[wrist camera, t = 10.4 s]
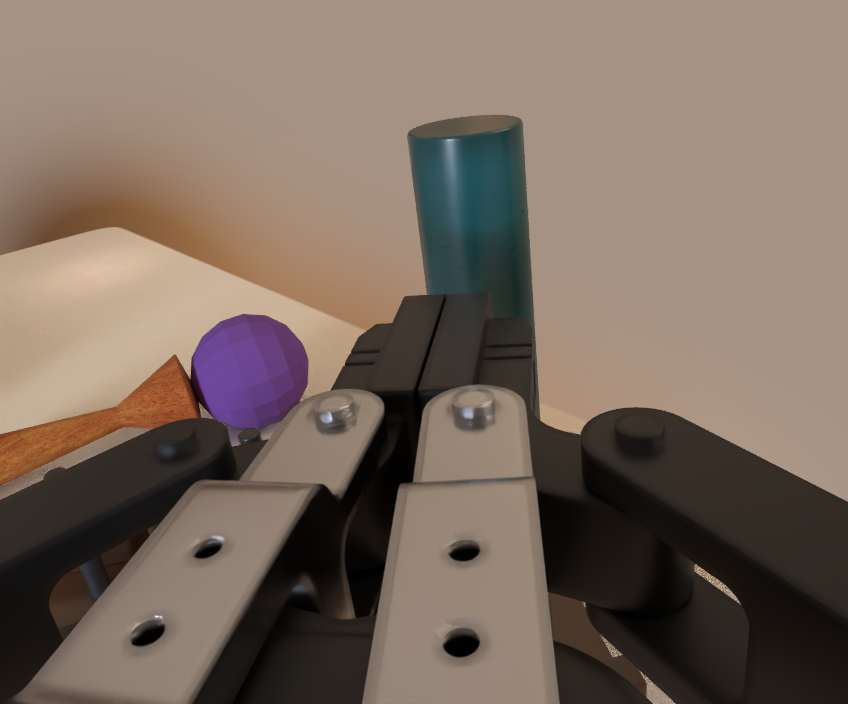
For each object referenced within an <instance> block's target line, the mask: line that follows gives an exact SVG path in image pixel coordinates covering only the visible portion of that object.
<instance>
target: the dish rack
mask: <svg viewBox="0 0 848 704" xmlns="http://www.w3.org/2000/svg"><path fill="white" fill-rule="evenodd" d="M407 138H408V146H409V154H410V161H411V169H412V178H413V185H414V194H415V202H416V210H417V218H418V225H419V234H420V241H421V250H422V258H423V265H424V274H425V282H426V290H427V295H435V294H446V295H447V296H448V294H451V293H469V292H487V291H490V293H491V298H492V306H493V318H507V317H521V318H522V319H523V320H524V321H525V322H526V323H527V324H528V325H529V326H530V327H531V328H532V329H533V346H534V363H535V380H536V397H537V418H538V419H539V420H540V408H539V394H538V393H539V391H538V375H537V358H536V341H535V324H534V307H533V290H532V274H531V257H530V239H529V223H528V206H527V191H526V173H525V155H524V139H523V122H522V120H521V119H520V118H517V117H513V116H507V115H481V116H469V117H460V118H453V119H447V120H442V121H436V122H432V123H428V124H424V125H421V126H418V127H416V128H414V129H412V130H410V131H409V132H408V136H407ZM238 439H239V443H240V445H244V444H248V443H253V442H258V441H262V439H261V435H260V431H259V430H258V429H256V428H249V429H246V430H243V431H242V432H240V433H239V435H238ZM64 470H66V469H65V468H62V467H60V468H55V469H52V470H50V471H48V472H47V473H46V474H45V475H44V479H47V478H49V477H51V476H53V475H55V474H57V473H59V472H62V471H64ZM149 536H150V534H149V531H148V529H147V530H145V531H143V532H141V533H140V534H138V535H136V536H134V537H132V538H130V539H129V540H127V541H125V542H123V543H121V544H119V545H118V546H116V547H114V548H112V549H110V550H108V551H107V552H105V553H103V554H101V555H99V556H97V557H96V558H94V559H92V560H90V561H88V562H86V563H85V564H83V565H81V566H79V567H77V568H75V569H74V570H72V571H70V572H69V573H67V574H66V575H65V576H63V577H62V578H61V579H60V580H59V581H58V582H57V584H56V585H55V587H54V588H53V590H52V592H51V595H50V599H49V608H50V611H51V613H52V616H53V618H54V620H55V622H56V625H57V627H64V626H68V625H71V624H73V623H75V622H77V621H78V620H80V619H82V618H83V617H84V616H85V614H86V613H87V612H88V611H89V610H90V608H91V607H92V606H93V605H94V604H95V602H96V601H97V600H98V599H99V597H100V596H101V595H102V594H103V593H104V591H105V590H106V589H107V588H108V586H109V585H110V584H111V583H112V582H113V580H114V579H115V578H116V577H117V575H118V574H119V573H120V572H121V571H122V569H123V568H124V567H125V566H126V564H127V563H128V562H129V561H130V560H131V558H132V557H133V556H134V555H135V553H136V552H137V551H138V550H139V549H140V547H141V546H142V545H143V544H144V542H145V541H146V540H147V539H148V538H149ZM548 601H549V611H550V620H551V629H552V638H553V640H554V641H557V642H560V643H563V644H565V645H568V646H571V647H574V648H576V649H578V650H580V651H582V652H584V653H586V654H588V655H590V656H592V657H594V658H596V659H597V660H599V661H601V662H602V663H604V664H605V665H607V666H609V667H610V668H612V669H613V670H615V671H616V672H617V673H619V674H620V675H621V676H622V677H624V678H625V679H626V680H627V681H629V682H630V683H631V684H633V685H634V686H635V687H636V688H637V689H638V690H639V691H640V692H641V693H642V694H643V695H644V696H645V697H646V686H647V685H646V682H645V680H644V678H643V677H642V675H641V673H640V672H639V670H638V668H637V667H636V666H635V665H634V664H633V663H631V662H630V661H629V660H628V659H627V658H626V657H625V656H624V655H621V656H618V657H614V658H613V657H612V655H611V654H610V652H609V650H608V648H607V646H606V645H605V643H604V641H603V639H602V637H601V636H600V634H599V632H598V631H597V630H596V629H595V628H594V627H593V625H592V624H591V622H590V621H589V618H588V616H587V612H586V608H585V607H584V605H583V603H582V601H579V600H575V599H572V598H568V597H564V596H561V595H557V594H554V593H550V592H548Z"/></svg>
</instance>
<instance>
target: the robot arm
mask: <svg viewBox="0 0 848 704" xmlns="http://www.w3.org/2000/svg"><path fill="white" fill-rule="evenodd" d="M147 529H148V531H149V534H150V536H149V538H148V539H147V540H146V541H145V542H144V544H143V545H142V546H141V547H140V549H139V550H138V551H137V552H136V553H135V555H134V556H133V557H132V558H131V560H130V561H129V562H128V563H127V564H126V566H125V567H124V568H123V569H122V571H121V572H120V573H119V574H118V575H117V577H116V578H115V579H114V580H113V582H112V583H111V584H110V585H109V586H108V588H107V589H106V590H105V591H104V593H103V594H102V595H101V596H100V597H99V599H98V600H97V601H96V602H95V604H94V605H93V606H92V607H91V608H90V610H89V611H88V612H87V613H86V614H85V616H84V617H83V618H82V619H80V620H78V621H77V622H75V623H73V624H71V625H68V626H64V627H57V625H56V622H55V620H54V618H53V616H52V613H51V611H50V608H49V599H50V595H51V592H52V590H53V588H54V587H55V585H56V584H57V582H58V581H59V580H60V579H61V578H62V577H63V576H65V575H66V574H67V573H69V572H70V571H72V570H74V569H75V568H77V567H79V566H81V565H83V564H85V563H86V562H88V561H90V560H92V559H94V558H96V557H97V556H99V555H101V554H103V553H105V552H107V551H108V550H110V549H112V548H114V547H116V546H118V545H119V544H121V543H123V542H125V541H127V540H129V539H130V538H132V537H134V536H136V535H138V534H140V533H141V532H143V531H145V530H147ZM695 564H697V565H698V566H699V567H701V568H702V569H704V570H705V571H707V572H708V573H709V574H711V575H712V576H714V577H715V578H716V579H718V580H719V581H721V582H722V583H723V584H725V585H726V586H727V587H728V588H729V589H730V590H731V591H732V592H733V593H734V595H735V596H736V597H737V599H738V600H739V601H740V603H741V604H739V603H738V602H736V601H735V600H734V599H732V598H731V597H729V596H728V595H726V594H725V593H724V592H722V591H721V590H719V589H718V588H717V587H715V586H714V585H712V584H711V583H710V582H708V581H707V580H705V579H704V578H703V577H701V576H700V575H698V574H697V573H696V572H694V567H695ZM548 592H550V593H554V594H557V595H561V596H564V597H568V598H572V599H575V600H579V601H582V602H586V612H587V616H588V618H589V621H590V622H591V624H592V625H593V627H594V628H595V629H596V630H597V631H598V632H599V633H600V634H601V635H602V636H603V637H604V638H605V639H606V640H608V641H609V642H610V643H611V644H612V645H613V646H614V647H615V648H616V649H617V650H618V651H619V652H621V653H622V654H623V655H624V656H625V657H626V658H627V659H628V660H629V661H630V662H631V663H633V664H634V665H635V666H636V667H637V668H638V669H639V670H640V671H641V672H642V673H643V674H644V675H646V676H647V677H648V678H649V679H650V680H651V681H652V682H653V683H654V684H655V685H656V686H658V687H659V688H660V689H661V690H662V691H663V692H664V693H665V694H666V695H667V696H668V697H669V698H671V699H672V700H673V701H674V702H675V703H676V704H848V502H847V501H845V500H843V499H841V498H839V497H837V496H835V495H833V494H831V493H829V492H827V491H825V490H823V489H821V488H819V487H817V486H816V485H813V484H812V483H809V482H808V481H806V480H804V479H802V478H800V477H798V476H796V475H794V474H792V473H790V472H788V471H786V470H784V469H782V468H780V467H778V466H776V465H774V464H772V463H770V462H768V461H766V460H764V459H762V458H761V457H759V456H757V455H755V454H753V453H751V452H749V451H747V450H745V449H743V448H741V447H739V446H737V445H735V444H733V443H731V442H729V441H727V440H725V439H723V438H721V437H719V436H717V435H715V434H713V433H711V432H709V431H707V430H705V429H704V428H702V427H700V426H698V425H696V424H694V423H692V422H690V421H688V420H686V419H684V418H682V417H680V416H677V415H675V414H673V413H669V412H666V411H662V410H657V409H650V408H637V407H636V408H635V407H634V408H622V409H616V410H611V411H608V412H605V413H602V414H600V415H598V416H596V417H594V418H592V419H591V420H590V421H588V422H587V424H586V425H585V426H584V427H583V429H582V431H581V435H580V434H574V433H569V432H564V431H561V430H558V429H555V428H553V427H550V426H548V425H546V424H545V423H543V422H541V421H540V420H539V419H538V418H537V397H536V380H535V363H534V346H533V329H532V328H531V327H530V326H529V325H528V324H527V323H526V322H525V321H524V320H523V319H522V318H521V317H507V318H493V306H492V298H491V293H490V291H487V292H469V293H451V294H448V296H447V295H446V294H435V295H419V296H405V297H404V298H403V300H402V303H401V305H400V307H399V310H398V312H397V314H396V316H395V318H394V321H393V323H389V324H376V325H375V326H373V327H372V328H371V329H369V330H368V331H366V332H365V333H364V334H362V335H361V336H359V337H358V339H357V341H356V343H355V345H354V347H353V349H352V351H351V354H349V356H348V358H347V360H346V362H345V366H343V368H342V370H341V372H340V373H339V375H338V377H337V379H336V381H335V383H334V385H333V387H332V389H331V390H330V391H328V392H324V393H320V394H317V395H314V396H312V397H309V398H307V399H305V400H303V401H302V402H300V403H299V404H297V405H296V406H295V407H293V408H292V409H291V410H290V412H289V413H288V414H287V415H286V417H285V418H284V420H283V421H282V422H281V424H280V425H279V426H278V428H277V429H276V430H275V432H274V433H273V435H272V436H271V437H270V439H268V440H263V441H258V442H253V443H248V444H244V445H239V446H234V447H232V446H231V442H230V438H229V434H228V431H227V428H226V427H225V425H224V424H222V423H221V422H219V421H217V420H213V419H208V418H191V419H183V420H178V421H174V422H170V423H167V424H164V425H162V426H159V427H157V428H154V429H152V430H150V431H148V432H146V433H144V434H141V435H139V436H137V437H135V438H133V439H131V440H128V441H126V442H124V443H122V444H120V445H118V446H116V447H113V448H111V449H109V450H107V451H105V452H103V453H100V454H98V455H96V456H94V457H92V458H90V459H88V460H85V461H83V462H81V463H79V464H77V465H75V466H72V467H70V468H68V469H66V470H64V471H62V472H59V473H57V474H55V475H53V476H51V477H49V478H47V479H44V480H42V481H40V482H38V483H36V484H34V485H31V486H29V487H27V488H25V489H23V490H21V491H19V492H16V493H14V494H12V495H10V496H8V497H6V498H3V499H1V500H0V704H652V703H651V702H650V701H649V700H648V699H647V698H646V697H645V696H644V695H643V694H642V693H641V692H640V691H639V690H638V689H637V688H636V687H635V686H634V685H633V684H631V683H630V682H629V681H627V680H626V679H625V678H624V677H622V676H621V675H620V674H619V673H617V672H616V671H615V670H613V669H612V668H610V667H609V666H607V665H605V664H604V663H602V662H601V661H599V660H597V659H596V658H594V657H592V656H590V655H588V654H586V653H584V652H582V651H580V650H578V649H576V648H574V647H571V646H568V645H565V644H563V643H560V642H557V641H554V640H553V638H552V629H551V620H550V611H549V601H548Z"/></svg>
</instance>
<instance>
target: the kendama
mask: <svg viewBox="0 0 848 704" xmlns="http://www.w3.org/2000/svg"><path fill="white" fill-rule="evenodd" d="M307 384H308V358H307V354H306V351H305V349H304V346H303V344H302V343H301V341H300V340H299V339H298V338H297V337H296V336H295V334H294V333H293V332H292V331H291V330H290V329H289V328H288V327H287V325H285V324H283V323H280V322H278V321H276V320H274V319H272V318H270V317H268V316H265V315H249V314H242V315H239V316H236V317H233V318H230V319H227V320H224V321H221V322H219V323H218V324H217V325H216V326H215V327H213V328H212V329H211V330H210V331H209V332H207V333H206V334H205V335H204V336H203V337H202V339H201V340H200V342H199V344H198V346H197V348H196V350H195V352H194V354H193V356H192V362H191V379H190V378H189V377H188V375H187V373H186V372H185V370H184V368H183V367H182V365H181V363H180V362H179V360H178V358H177V357H176V355H173V356H172V357H171V358H170V359H169V360H168V361H167V362H166V363H165V364H163V365H162V366H161V367H160V368H159V369H158V370H157V371H156V372H154V373H153V374H152V375H151V376H150V377H149V378H148V379H147V380H146V381H144V382H143V383H142V384H141V385H140V386H139V387H138V388H137V389H136V390H134V391H133V392H132V393H131V394H130V395H129V396H128V397H127V398H126V399H124V400H123V401H122V402H121V403H120V404H119V405H118V406H117V407H113V408H109V409H105V410H101V411H96V412H92V413H88V414H84V415H79V416H75V417H71V418H67V419H63V420H58V421H54V422H50V423H46V424H42V425H37V426H33V427H29V428H25V429H21V430H16V431H12V432H8V433H4V434H0V485H2V484H4V483H6V482H8V481H11V480H13V479H15V478H17V477H19V476H21V475H23V474H25V473H28V472H30V471H32V470H34V469H36V468H38V467H40V466H42V465H44V464H47V463H49V462H51V461H53V460H55V459H57V458H59V457H61V456H63V455H66V454H68V453H70V452H72V451H74V450H76V449H78V448H80V447H82V446H85V445H87V444H89V443H91V442H93V441H95V440H97V439H99V438H102V437H104V436H106V435H108V434H110V433H112V432H114V431H116V430H118V429H121V428H123V427H133V428H151V429H154V428H157V427H159V426H162V425H164V424H167V423H170V422H174V421H178V420H183V419H191V418H201V414H200V408H199V403H200V404H201V405H202V406H203V407H204V408H205V409H206V410H207V411H208V412H209V413H210V414H211V415H212V416H213V418H215V419H217V420H219V421H222V422H224V423H226V424H228V425H231V426H233V427H235V428H261V427H264V426H267V425H270V424H272V423H275V422H278V421H280V420H282V419H283V418H284V417H285V416H286V415H287V414H288V413H289V412H290V410H291V409H292V408H293V407H295V406H296V405H297V404H299V402H300V399H301V397H302V395H303V393H304V391H305V389H306V387H307Z"/></svg>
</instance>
